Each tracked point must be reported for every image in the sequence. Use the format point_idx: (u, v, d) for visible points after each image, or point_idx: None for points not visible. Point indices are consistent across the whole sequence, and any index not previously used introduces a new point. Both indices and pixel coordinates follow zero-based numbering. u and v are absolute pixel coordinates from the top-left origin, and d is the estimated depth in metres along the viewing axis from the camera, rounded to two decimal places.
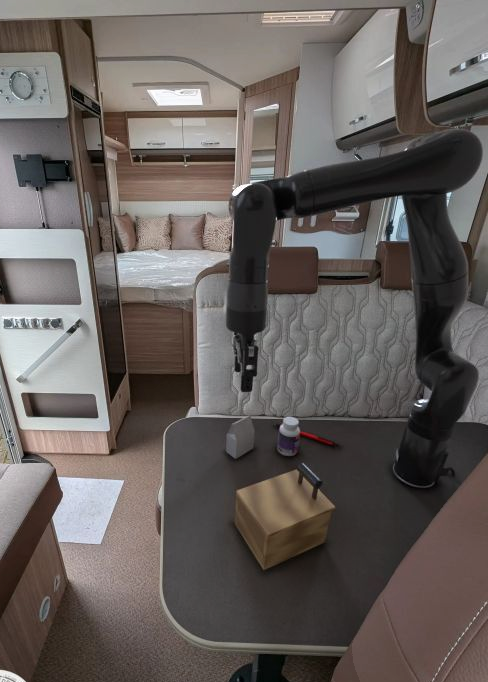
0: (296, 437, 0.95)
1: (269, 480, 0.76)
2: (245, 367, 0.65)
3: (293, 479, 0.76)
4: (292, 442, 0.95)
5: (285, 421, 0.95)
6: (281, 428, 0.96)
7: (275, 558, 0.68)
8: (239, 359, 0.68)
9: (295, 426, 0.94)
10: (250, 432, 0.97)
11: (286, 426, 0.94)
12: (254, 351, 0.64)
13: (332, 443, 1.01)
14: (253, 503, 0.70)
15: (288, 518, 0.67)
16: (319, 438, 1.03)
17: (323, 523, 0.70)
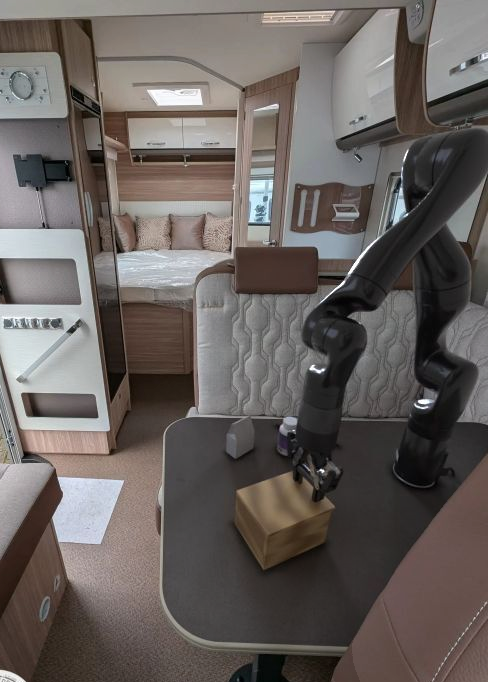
0: None
1: (269, 480, 0.76)
2: (328, 487, 0.65)
3: None
4: None
5: (285, 421, 0.95)
6: (281, 428, 0.96)
7: (275, 558, 0.68)
8: (315, 475, 0.67)
9: (295, 426, 0.94)
10: (250, 432, 0.97)
11: (286, 426, 0.94)
12: (340, 474, 0.64)
13: None
14: (253, 503, 0.70)
15: (288, 518, 0.67)
16: None
17: (323, 523, 0.70)
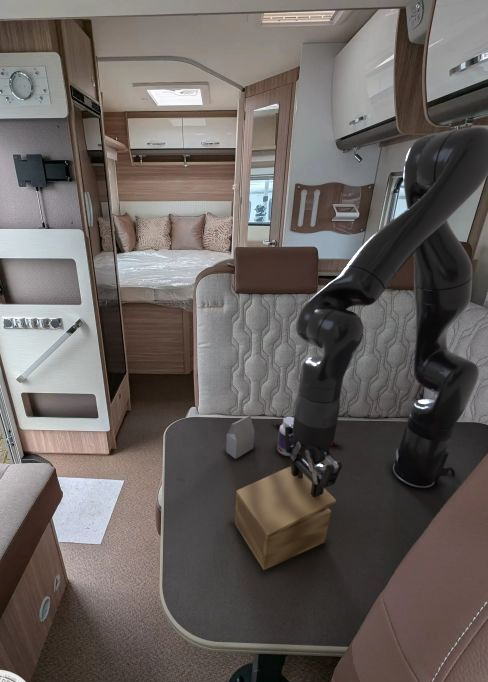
0: None
1: (269, 477, 0.75)
2: (327, 482, 0.64)
3: None
4: (292, 442, 0.95)
5: (285, 421, 0.95)
6: (281, 428, 0.96)
7: (275, 558, 0.68)
8: (313, 470, 0.66)
9: None
10: (250, 432, 0.97)
11: None
12: (338, 468, 0.63)
13: (332, 443, 1.01)
14: (252, 503, 0.70)
15: (288, 516, 0.67)
16: None
17: (323, 523, 0.70)
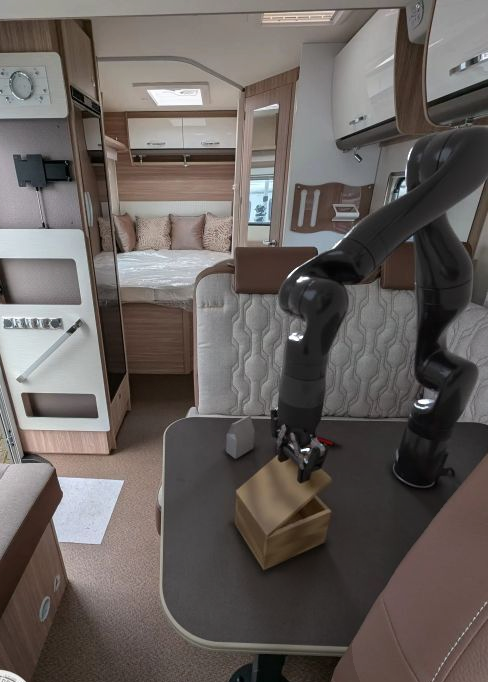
0: None
1: (264, 468, 0.73)
2: (313, 466, 0.61)
3: None
4: None
5: None
6: None
7: (275, 558, 0.68)
8: (299, 454, 0.63)
9: None
10: (250, 432, 0.97)
11: None
12: (325, 451, 0.59)
13: (332, 443, 1.01)
14: (251, 502, 0.70)
15: (285, 509, 0.65)
16: (319, 438, 1.03)
17: (323, 523, 0.70)
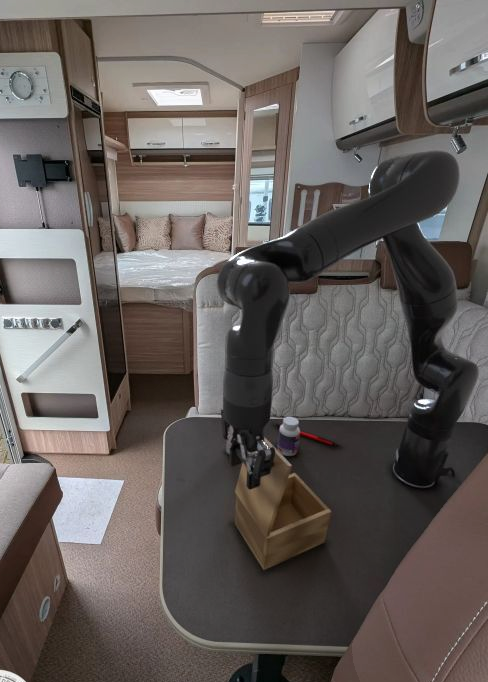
0: (296, 437, 0.95)
1: (243, 463, 0.70)
2: (259, 471, 0.55)
3: None
4: (292, 442, 0.95)
5: (285, 421, 0.95)
6: (281, 428, 0.96)
7: (275, 558, 0.68)
8: (246, 458, 0.57)
9: (295, 426, 0.94)
10: None
11: (286, 426, 0.94)
12: (271, 455, 0.54)
13: (332, 443, 1.01)
14: (246, 502, 0.69)
15: (268, 507, 0.63)
16: (319, 438, 1.03)
17: (323, 523, 0.70)
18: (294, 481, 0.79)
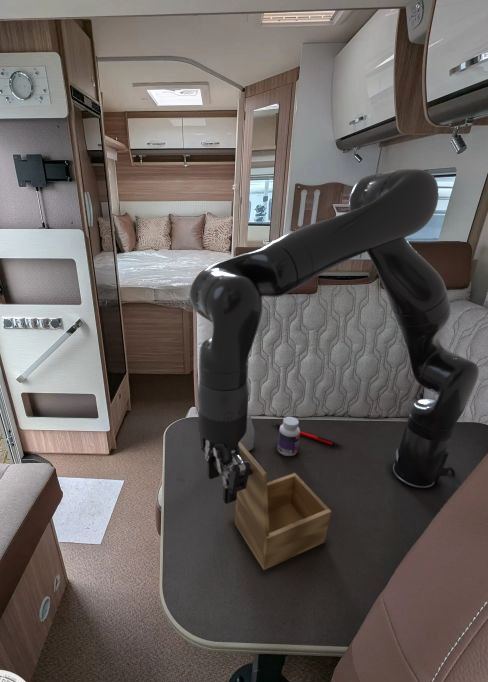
0: (296, 437, 0.95)
1: None
2: (234, 486, 0.54)
3: None
4: (292, 442, 0.95)
5: (285, 421, 0.95)
6: (281, 428, 0.96)
7: (275, 558, 0.68)
8: (222, 472, 0.56)
9: (295, 426, 0.94)
10: (250, 432, 0.97)
11: (286, 426, 0.94)
12: (246, 470, 0.53)
13: (332, 443, 1.01)
14: (244, 503, 0.69)
15: (259, 510, 0.62)
16: (319, 438, 1.03)
17: (323, 523, 0.70)
18: (294, 481, 0.79)
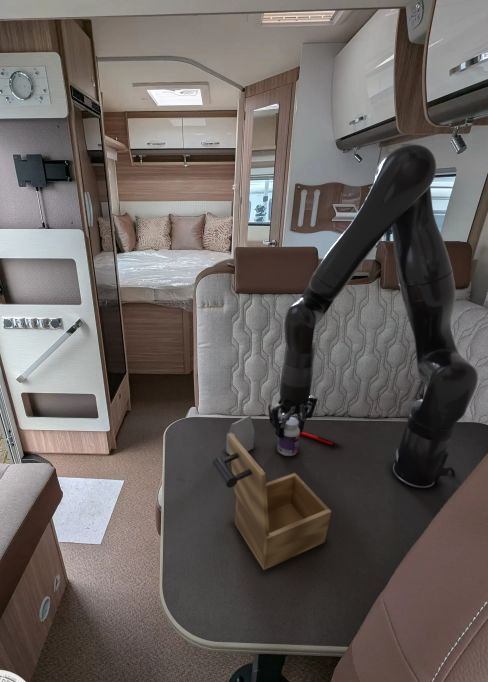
0: (296, 437, 0.95)
1: (232, 467, 0.69)
2: (269, 417, 0.93)
3: (234, 453, 0.65)
4: (292, 442, 0.95)
5: None
6: None
7: (275, 558, 0.68)
8: (278, 412, 0.94)
9: (295, 426, 0.94)
10: (250, 432, 0.97)
11: (286, 426, 0.94)
12: (272, 411, 0.90)
13: (332, 443, 1.01)
14: (244, 503, 0.69)
15: (259, 511, 0.62)
16: (319, 438, 1.03)
17: (323, 523, 0.70)
18: (294, 481, 0.79)
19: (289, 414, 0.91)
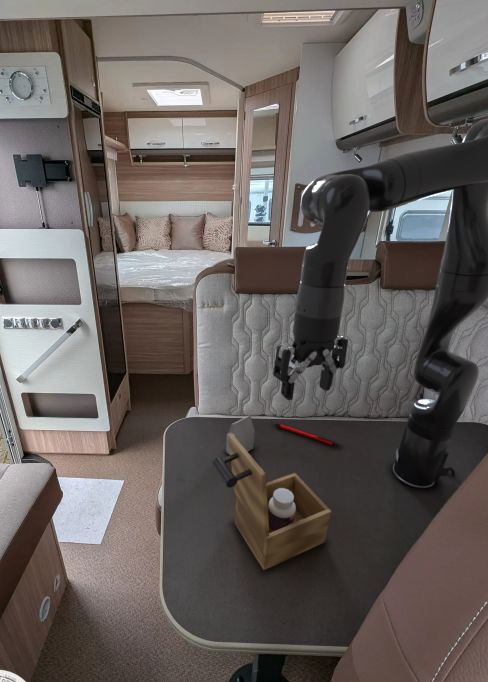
0: (290, 517, 0.70)
1: (232, 467, 0.69)
2: (275, 366, 0.63)
3: (234, 453, 0.65)
4: (285, 524, 0.71)
5: (276, 496, 0.71)
6: (271, 504, 0.72)
7: (275, 558, 0.68)
8: (288, 361, 0.65)
9: (289, 504, 0.70)
10: (250, 432, 0.97)
11: (277, 503, 0.70)
12: (282, 353, 0.61)
13: (332, 443, 1.01)
14: (244, 503, 0.69)
15: (259, 511, 0.62)
16: (319, 438, 1.03)
17: (323, 523, 0.70)
18: (294, 481, 0.79)
19: (306, 363, 0.62)
